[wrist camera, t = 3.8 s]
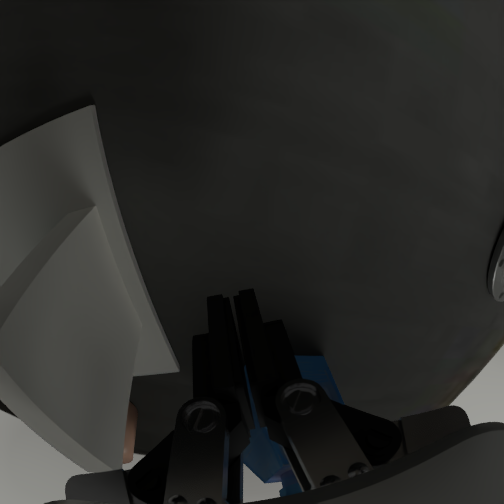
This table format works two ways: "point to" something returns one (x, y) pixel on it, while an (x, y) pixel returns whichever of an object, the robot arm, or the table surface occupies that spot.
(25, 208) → the mat
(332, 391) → the perfume bottle
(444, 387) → the table surface
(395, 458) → the robot arm
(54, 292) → the tile
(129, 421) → the brown rounded cylinder
